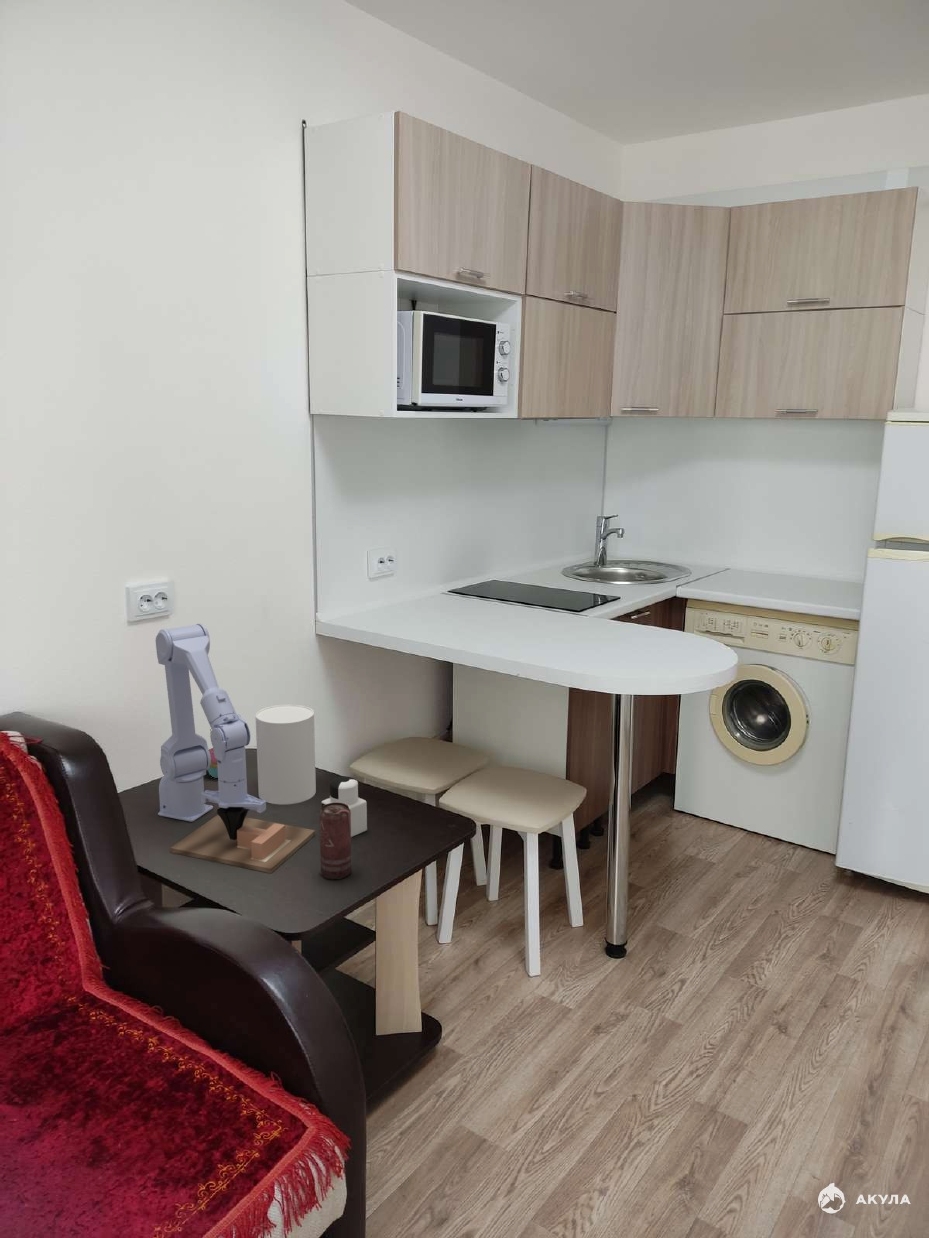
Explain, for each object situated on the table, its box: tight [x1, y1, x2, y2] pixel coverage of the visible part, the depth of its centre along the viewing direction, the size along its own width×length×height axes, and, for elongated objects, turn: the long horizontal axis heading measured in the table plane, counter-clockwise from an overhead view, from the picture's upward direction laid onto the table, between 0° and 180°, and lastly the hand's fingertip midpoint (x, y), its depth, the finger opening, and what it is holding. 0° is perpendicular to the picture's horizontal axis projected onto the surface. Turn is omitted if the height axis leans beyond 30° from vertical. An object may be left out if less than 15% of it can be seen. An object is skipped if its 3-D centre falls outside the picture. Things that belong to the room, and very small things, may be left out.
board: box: [169, 814, 316, 874], centre depth 192 cm, size 24×18×1 cm
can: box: [319, 803, 352, 880], centre depth 179 cm, size 6×6×14 cm
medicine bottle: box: [321, 775, 368, 838], centre depth 197 cm, size 7×7×12 cm
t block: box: [237, 822, 286, 860], centre depth 188 cm, size 8×9×4 cm
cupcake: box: [207, 728, 218, 778], centre depth 226 cm, size 9×8×12 cm
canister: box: [255, 703, 317, 805], centre depth 215 cm, size 14×14×20 cm
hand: (235, 837), depth 190 cm, fingers closed
